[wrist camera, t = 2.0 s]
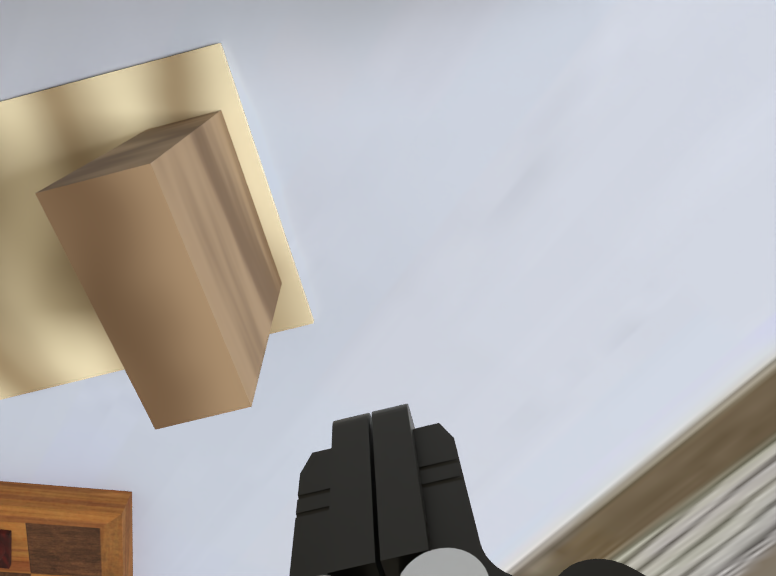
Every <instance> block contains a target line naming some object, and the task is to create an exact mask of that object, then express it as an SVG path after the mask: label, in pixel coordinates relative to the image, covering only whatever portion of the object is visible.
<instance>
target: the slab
mask: <svg viewBox="0 0 776 576" xmlns="http://www.w3.org/2000/svg"><path fill="white" fill-rule="evenodd" d="M35 194H36V196H37V198H38V200H39V202H40V204H41V206H42V208H43V210H44V212H45V214H46V216H47V218H48V220H49V222H50V224H51V226H52V228H53V230H54V232H55V234H56V235H57V237H58V239H59V241H60V243H61V245H62V247H63V249H64V251H65V253H66V255H67V257H68V259H69V261H70V263H71V265H72V267H73V269H74V271H75V273H76V275H77V277H78V279H79V281H80V283H81V285H82V286H83V288H84V290H85V292H86V294H87V296H88V298H89V300H90V302H91V304H92V306H93V308H94V310H95V312H96V314H97V316H98V318H99V320H100V322H101V324H102V326H103V328H104V330H105V332H106V334H107V336H108V338H109V339H110V341H111V343H112V345H113V347H114V349H115V351H116V353H117V355H118V357H119V359H120V361H121V363H122V365H123V367H124V369H125V371H126V373H127V375H128V377H129V379H130V381H131V383H132V385H133V387H134V389H135V390H136V392H137V394H138V396H139V398H140V400H141V402H142V404H143V406H144V408H145V410H146V412H147V414H148V416H149V418H150V420H151V422H152V424H153V426H154V428H155V429H160V428H164V427H168V426H172V425H176V424H181V423H185V422H189V421H193V420H197V419H201V418H206V417H210V416H214V415H218V414H222V413H227V412H231V411H235V410H239V409H243V408H248V407H251V406H252V402H253V398H254V394H255V390H256V386H257V382H258V378H259V374H260V370H261V366H262V362H263V358H264V354H265V350H266V346H267V341H268V337H269V333H270V329H271V325H272V321H273V317H274V313H275V309H276V305H277V301H278V297H279V293H280V289H281V285H282V282H281V279H280V276H279V273H278V271H277V268H276V265H275V262H274V259H273V256H272V253H271V251H270V248H269V245H268V242H267V239H266V236H265V233H264V231H263V228H262V225H261V222H260V219H259V216H258V213H257V211H256V208H255V205H254V202H253V199H252V196H251V193H250V191H249V188H248V185H247V182H246V179H245V176H244V173H243V171H242V168H241V165H240V162H239V159H238V156H237V153H236V151H235V148H234V145H233V142H232V139H231V136H230V133H229V131H228V128H227V125H226V122H225V119H224V116H223V114H222V111H221V110H220V111H216V112H212V113H208V114H205V115H201V116H197V117H193V118H189V119H185V120H182V121H178V122H174V123H170V124H166V125H163V126H159V127H155V128H151V129H147V130H145V131H143V132H142V133H140V134H138V135H136V136H135V137H133V138H131V139H129V140H128V141H126V142H124V143H122V144H121V145H119V146H117V147H115V148H114V149H112V150H110V151H108V152H107V153H105V154H103V155H101V156H100V157H98V158H96V159H94V160H93V161H91V162H89V163H87V164H86V165H84V166H82V167H80V168H79V169H77V170H75V171H73V172H72V173H70V174H68V175H66V176H65V177H63V178H61V179H59V180H58V181H56V182H54V183H52V184H51V185H49V186H47V187H45V188H44V189H42V190H40V191H38V192H37V193H35Z"/></svg>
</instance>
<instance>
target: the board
mask: <svg viewBox="0 0 776 576" xmlns="http://www.w3.org/2000/svg"><path fill="white" fill-rule="evenodd" d="M220 110H221V111H222V114H223V116H224V119H225V122H226V125H227V128H228V131H229V133H230V136H231V139H232V142H233V145H234V148H235V151H236V153H237V156H238V159H239V162H240V165H241V168H242V171H243V173H244V176H245V179H246V182H247V185H248V188H249V191H250V193H251V196H252V199H253V202H254V205H255V208H256V211H257V213H258V216H259V219H260V222H261V225H262V228H263V231H264V233H265V236H266V239H267V242H268V245H269V248H270V251H271V253H272V256H273V259H274V262H275V265H276V268H277V271H278V273H279V276H280V279H281V282H282V285H281V289H280V293H279V297H278V301H277V305H276V309H275V313H274V317H273V321H272V325H271V329H270V333H269V334H272V333H276V332H280V331H284V330H288V329H292V328H296V327H300V326H304V325H308V324H312V323H313V322H314V319H313V316H312V313H311V310H310V307H309V304H308V301H307V299H306V296H305V293H304V290H303V287H302V284H301V281H300V278H299V275H298V272H297V269H296V266H295V263H294V260H293V257H292V254H291V251H290V248H289V245H288V242H287V239H286V236H285V233H284V230H283V227H282V224H281V221H280V218H279V215H278V212H277V209H276V206H275V203H274V200H273V197H272V194H271V191H270V188H269V185H268V182H267V179H266V176H265V173H264V170H263V167H262V164H261V161H260V158H259V155H258V152H257V149H256V146H255V143H254V140H253V137H252V134H251V131H250V128H249V125H248V122H247V119H246V116H245V113H244V110H243V107H242V104H241V101H240V98H239V95H238V92H237V89H236V86H235V83H234V80H233V77H232V74H231V71H230V68H229V65H228V63H227V60H226V57H225V54H224V51H223V48H222V45H221V43H219V44H215V45H211V46H207V47H204V48H200V49H196V50H192V51H189V52H185V53H181V54H177V55H174V56H170V57H166V58H162V59H159V60H155V61H151V62H148V63H144V64H140V65H136V66H133V67H129V68H125V69H121V70H118V71H114V72H110V73H106V74H103V75H99V76H95V77H91V78H88V79H84V80H80V81H76V82H73V83H69V84H65V85H62V86H58V87H54V88H50V89H47V90H43V91H39V92H35V93H32V94H28V95H24V96H20V97H17V98H13V99H9V100H5V101H2V102H0V400H1V399H5V398H9V397H13V396H17V395H21V394H26V393H30V392H34V391H38V390H42V389H46V388H50V387H54V386H58V385H62V384H67V383H71V382H75V381H79V380H83V379H87V378H91V377H95V376H99V375H103V374H108V373H112V372H116V371H120V370H124V367H123V365H122V363H121V361H120V359H119V357H118V355H117V353H116V351H115V349H114V347H113V345H112V343H111V341H110V339H109V338H108V336H107V334H106V332H105V330H104V328H103V326H102V324H101V322H100V320H99V318H98V316H97V314H96V312H95V310H94V308H93V306H92V304H91V302H90V300H89V298H88V296H87V294H86V292H85V290H84V288H83V286H82V285H81V283H80V281H79V279H78V277H77V275H76V273H75V271H74V269H73V267H72V265H71V263H70V261H69V259H68V257H67V255H66V253H65V251H64V249H63V247H62V245H61V243H60V241H59V239H58V237H57V235H56V234H55V232H54V230H53V228H52V226H51V224H50V222H49V220H48V218H47V216H46V214H45V212H44V210H43V208H42V206H41V204H40V202H39V200H38V198H37V196H36V194H35V193H37V192H38V191H40V190H42V189H44V188H45V187H47V186H49V185H51V184H52V183H54V182H56V181H58V180H59V179H61V178H63V177H65V176H66V175H68V174H70V173H72V172H73V171H75V170H77V169H79V168H80V167H82V166H84V165H86V164H87V163H89V162H91V161H93V160H94V159H96V158H98V157H100V156H101V155H103V154H105V153H107V152H108V151H110V150H112V149H114V148H115V147H117V146H119V145H121V144H122V143H124V142H126V141H128V140H129V139H131V138H133V137H135V136H136V135H138V134H140V133H142V132H143V131H145V130H147V129H151V128H155V127H159V126H163V125H166V124H170V123H174V122H178V121H182V120H185V119H189V118H193V117H197V116H201V115H205V114H208V113H212V112H216V111H220Z"/></svg>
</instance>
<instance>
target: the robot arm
mask: <svg viewBox="0 0 776 576" xmlns="http://www.w3.org/2000/svg"><path fill="white" fill-rule="evenodd" d="M298 498H299V500H297V509H296V515H297V518H296V519H295V528H294V538H293V548H292V557H291V567H290V576H512V575H510V574H508V573H506V572H504V571H502V570H501V569H499V568H497V567H496V566H495V565H494V564H493V563H492V562H491V561H490V560H489V559H488V558H487V556H486V555H485V553H484V551H483V549H482V547H481V544H480V540H479V536H478V532H477V528H476V524H475V520H474V516H473V512H472V508H471V505H470V501H469V497H468V493H467V489H466V485H465V481H464V477H463V473H462V469H461V465H460V461H459V457H458V453H457V449H456V445H455V441H454V438H453V437H452V436H451V435H450V434H449V433H448V432H447V431H446V430H445V429H444V428H443V427H442V426H441V425H440V424H439V423H437V424H433V425H428V426H424V427H420V428H416V429H415V427H414V423H413V420H412V416H411V413H410V409H409V406H408V404H404V405H399V406H395V407H391V408H387V409H383V410H378V411H374V412H372V417H371V415H370V413H366V414H362V415H358V416H354V417H349V418H345V419H341V420H337V421H334V422H333V426H332V448H331V449H327V450H322V451H318V452H314V453H312V454H311V456H310V458H309V460H308V461H307V463H306V465H305V466H304V468H303V470H302V472H301V473H300V480H299V490H298ZM559 576H645V575H643V574H642V573H640V572H638V571H636V570H634V569H633V568H631V567H629V566H627V565H624V564H622V563H619V562H616V561H612V560H606V559H590V560H584V561H581V562H578V563H575V564H573V565H571V566H569V567H568V568H567V569H565V570H564V571H563V572H562V573H561V574H560V575H559Z"/></svg>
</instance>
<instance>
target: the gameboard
mask: <svg viewBox="0 0 776 576" xmlns="http://www.w3.org/2000/svg"><path fill="white" fill-rule="evenodd" d="M0 576H133V548H132V492H128V491H116V490H103V489H91V488H78V487H66V486H53V485H41V484H28V483H16V482H3V481H0Z"/></svg>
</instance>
